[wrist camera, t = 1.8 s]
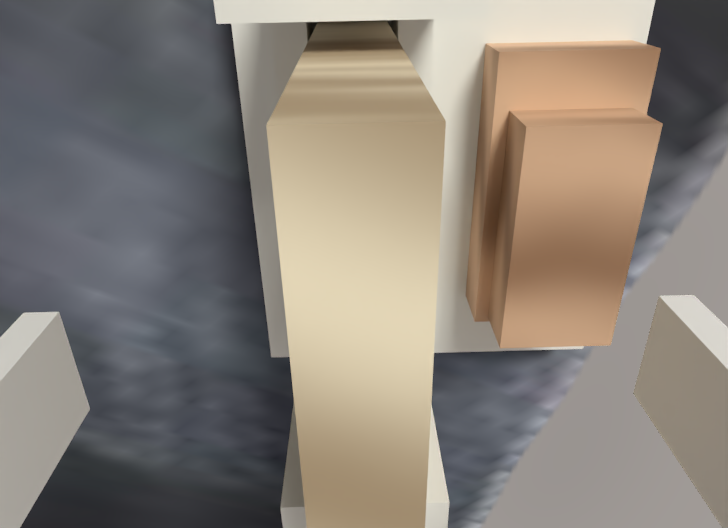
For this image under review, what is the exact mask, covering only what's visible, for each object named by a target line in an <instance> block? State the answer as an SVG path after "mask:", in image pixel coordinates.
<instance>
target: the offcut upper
mask: <svg viewBox="0 0 728 528" xmlns="http://www.w3.org/2000/svg"><path fill="white" fill-rule="evenodd" d="M662 125H663V124H662V123H660V122H659V121H657V120H655V119H653V118H651V117H649V116H647V115H645V114H643V113H641V112H640V111H638V110H636V109H634V108H603V109H560V110H517V111H509V120H508V129H507V139H506V149H505V158H504V168H503V177H502V187H501V197H500V206H499V216H498V225H497V235H496V245H495V254H494V264H493V273H492V283H491V293H490V302H489V312H488V319H489V321H490V324H491V327H492V329H493V332H494V334H495V337H496V340H497V342H498V345H499V347H500V348H532V347H567V346H601V345H602V346H603V345H611V342H612V337H613V333H614V328H615V324H616V320H617V316H618V312H619V307H620V303H621V299H622V295H623V291H624V286H625V282H626V278H627V274H628V269H629V265H630V261H631V257H632V252H633V248H634V244H635V240H636V235H637V231H638V227H639V223H640V218H641V214H642V210H643V206H644V201H645V197H646V193H647V189H648V184H649V180H650V176H651V172H652V167H653V163H654V159H655V154H656V150H657V146H658V142H659V137H660V133H661V129H662Z"/></svg>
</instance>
